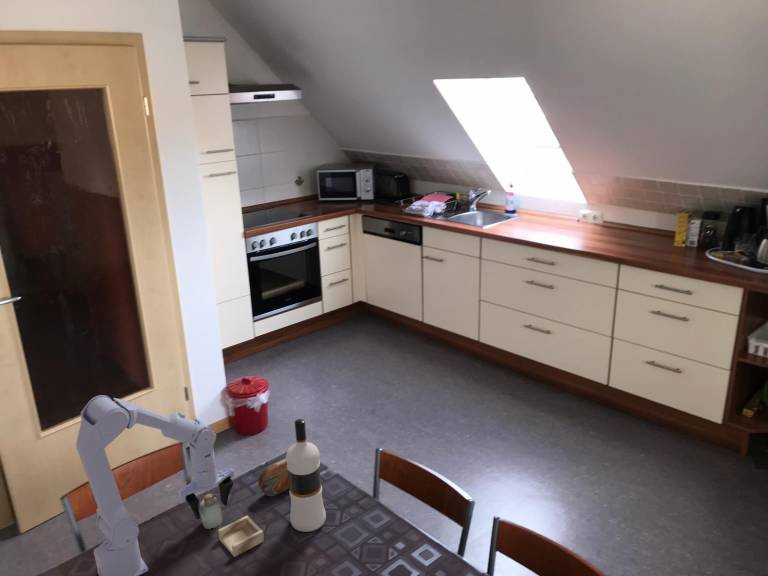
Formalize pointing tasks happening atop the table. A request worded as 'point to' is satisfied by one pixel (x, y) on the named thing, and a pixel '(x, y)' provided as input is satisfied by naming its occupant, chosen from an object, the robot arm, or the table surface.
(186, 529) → the table surface
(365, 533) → the table surface
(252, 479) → the table surface
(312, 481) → the vodka
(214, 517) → the bottle
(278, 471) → the tin
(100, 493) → the robot arm
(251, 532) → the wooden box
